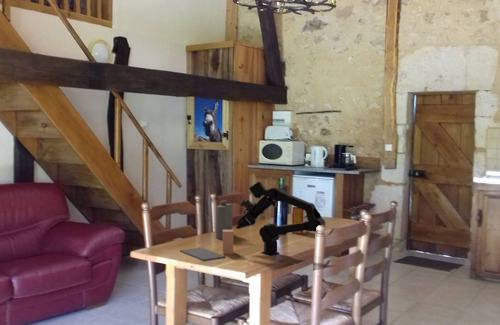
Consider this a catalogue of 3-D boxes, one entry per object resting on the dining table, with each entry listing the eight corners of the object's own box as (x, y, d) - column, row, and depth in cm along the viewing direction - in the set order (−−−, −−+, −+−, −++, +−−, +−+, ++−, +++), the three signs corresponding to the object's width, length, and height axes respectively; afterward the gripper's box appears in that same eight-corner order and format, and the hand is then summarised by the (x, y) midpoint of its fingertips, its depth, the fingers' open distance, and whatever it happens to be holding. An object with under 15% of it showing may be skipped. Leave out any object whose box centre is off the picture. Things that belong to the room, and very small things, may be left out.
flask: (223, 233, 307) (224, 199, 306) (233, 234, 305) (233, 199, 304) (213, 238, 293) (213, 202, 292) (223, 239, 291) (223, 202, 290)
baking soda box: (298, 230, 319) (299, 204, 318) (308, 232, 315) (309, 205, 314) (291, 233, 310) (292, 206, 309) (302, 234, 307) (302, 207, 306)
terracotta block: (232, 251, 262) (233, 229, 262) (233, 254, 257) (233, 231, 257) (222, 251, 262) (222, 229, 261) (222, 254, 257) (223, 231, 256)
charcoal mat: (225, 257, 251) (225, 256, 251) (203, 260, 243) (203, 259, 243) (201, 248, 268) (201, 247, 268) (180, 251, 261) (180, 250, 261)
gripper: (251, 190, 269) (227, 210, 270) (250, 196, 250) (225, 217, 252) (265, 207, 270) (242, 226, 271) (265, 214, 251) (240, 235, 252)
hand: (237, 226), depth 261 cm, fingers open, 9 cm apart
